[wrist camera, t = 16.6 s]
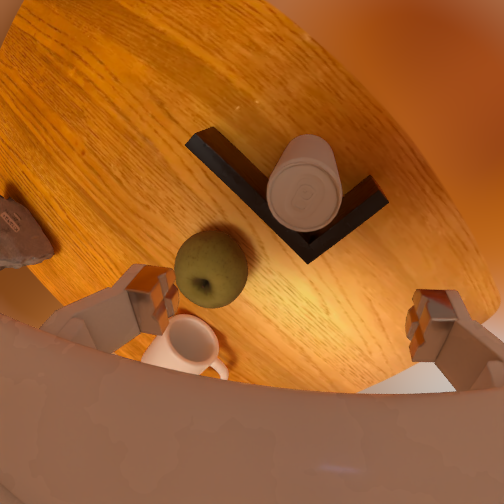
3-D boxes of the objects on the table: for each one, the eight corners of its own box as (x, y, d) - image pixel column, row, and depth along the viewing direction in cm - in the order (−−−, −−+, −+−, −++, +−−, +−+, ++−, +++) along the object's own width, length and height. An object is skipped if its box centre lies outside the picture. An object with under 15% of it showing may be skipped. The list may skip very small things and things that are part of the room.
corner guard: (268, 69, 25) (259, 64, 21) (379, 185, 28) (389, 202, 24) (203, 136, 30) (184, 145, 25) (309, 240, 33) (307, 264, 29)
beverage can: (342, 148, 27) (357, 183, 17) (319, 189, 30) (319, 246, 20) (297, 124, 27) (285, 145, 17) (276, 167, 30) (252, 213, 20)
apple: (210, 286, 39) (191, 323, 33) (178, 232, 36) (151, 263, 30) (265, 270, 36) (253, 309, 30) (234, 209, 33) (213, 239, 27)
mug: (153, 337, 46) (131, 373, 39) (178, 302, 41) (154, 342, 34) (216, 376, 48) (201, 415, 41) (249, 349, 43) (236, 393, 36)
